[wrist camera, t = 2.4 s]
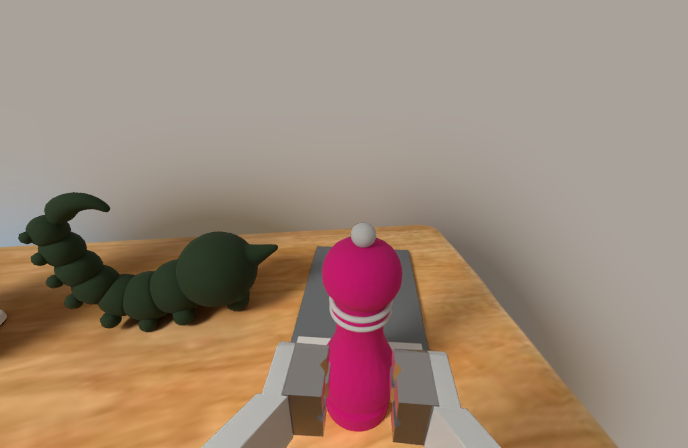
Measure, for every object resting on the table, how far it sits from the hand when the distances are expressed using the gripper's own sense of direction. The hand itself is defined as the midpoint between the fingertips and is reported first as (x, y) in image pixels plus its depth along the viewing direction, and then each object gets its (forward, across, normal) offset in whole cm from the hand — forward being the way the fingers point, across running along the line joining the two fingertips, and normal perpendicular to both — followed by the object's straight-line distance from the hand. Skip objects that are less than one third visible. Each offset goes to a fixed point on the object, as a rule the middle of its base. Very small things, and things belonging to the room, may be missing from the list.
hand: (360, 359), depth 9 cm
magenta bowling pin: (+12, 0, +22) cm, 25 cm away
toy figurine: (+22, +23, +22) cm, 39 cm away
